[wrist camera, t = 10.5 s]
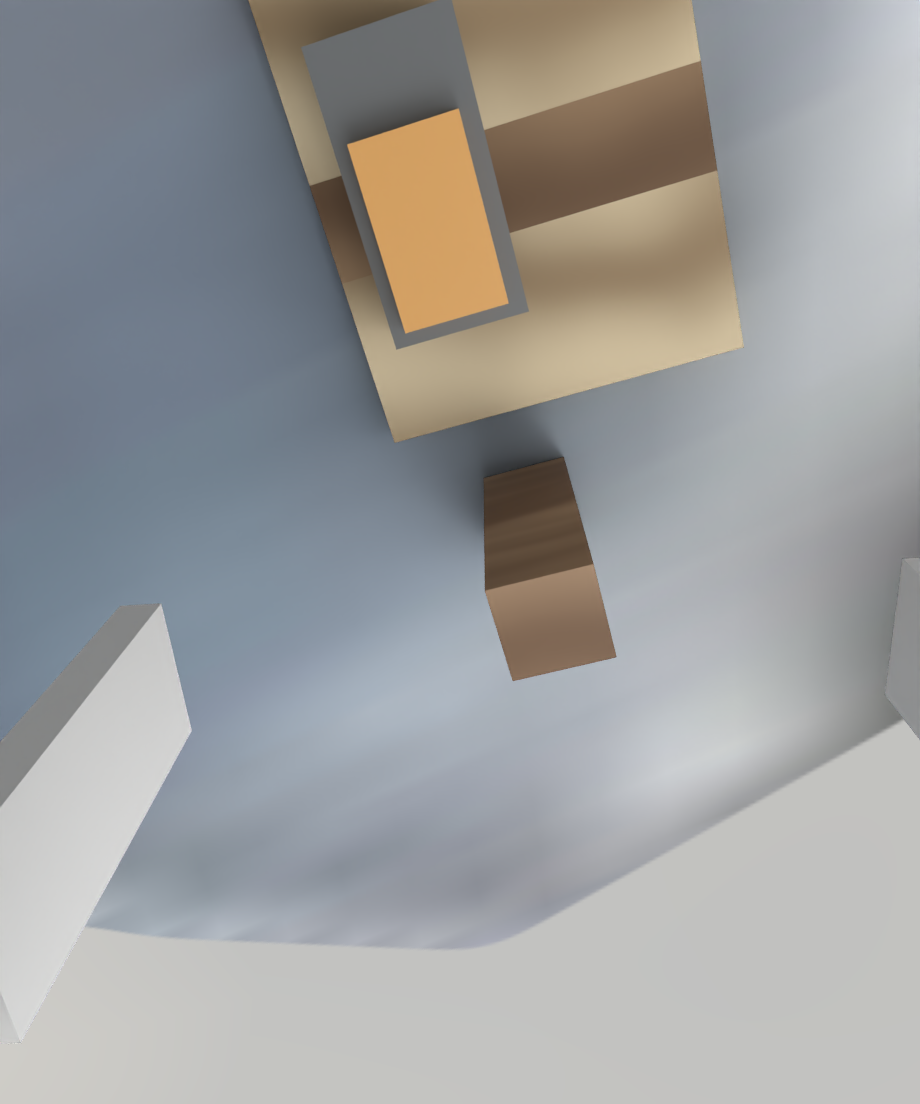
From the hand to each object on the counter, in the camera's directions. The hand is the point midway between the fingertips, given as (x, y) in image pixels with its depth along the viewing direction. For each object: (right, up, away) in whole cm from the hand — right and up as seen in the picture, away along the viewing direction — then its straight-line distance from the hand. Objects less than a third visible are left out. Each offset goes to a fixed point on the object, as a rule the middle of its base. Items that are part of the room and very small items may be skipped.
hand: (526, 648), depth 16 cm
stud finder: (-2, +13, +11) cm, 17 cm away
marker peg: (+1, +4, +16) cm, 17 cm away
